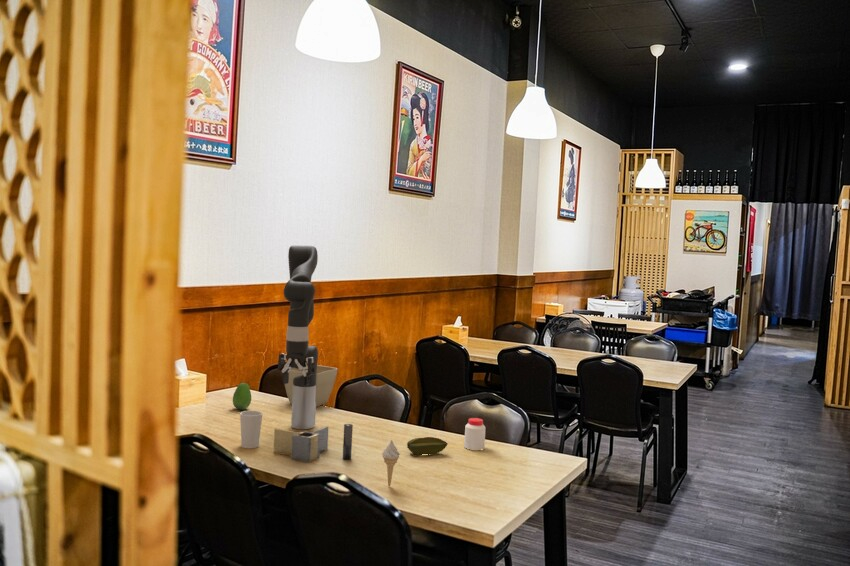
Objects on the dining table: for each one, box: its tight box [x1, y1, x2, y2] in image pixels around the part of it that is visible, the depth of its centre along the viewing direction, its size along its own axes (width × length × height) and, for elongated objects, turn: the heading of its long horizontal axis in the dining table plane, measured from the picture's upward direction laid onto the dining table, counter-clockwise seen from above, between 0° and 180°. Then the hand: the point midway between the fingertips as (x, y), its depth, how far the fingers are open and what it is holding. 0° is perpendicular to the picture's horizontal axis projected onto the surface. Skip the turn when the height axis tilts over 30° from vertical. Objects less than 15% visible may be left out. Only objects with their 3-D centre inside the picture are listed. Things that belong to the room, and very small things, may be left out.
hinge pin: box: [342, 423, 354, 461], centre depth 247 cm, size 3×3×12 cm
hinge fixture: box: [273, 425, 329, 463], centre depth 251 cm, size 17×17×8 cm
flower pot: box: [284, 364, 338, 408], centre depth 326 cm, size 19×19×17 cm
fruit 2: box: [406, 436, 448, 456], centre depth 257 cm, size 11×12×7 cm
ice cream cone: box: [381, 439, 401, 487], centre depth 220 cm, size 6×6×15 cm
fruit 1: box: [232, 382, 252, 411], centre depth 309 cm, size 8×8×12 cm
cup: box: [239, 410, 263, 449], centre depth 256 cm, size 8×8×12 cm
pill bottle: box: [463, 417, 486, 450], centre depth 268 cm, size 8×8×11 cm
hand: (295, 385), depth 245 cm, fingers open, 8 cm apart
